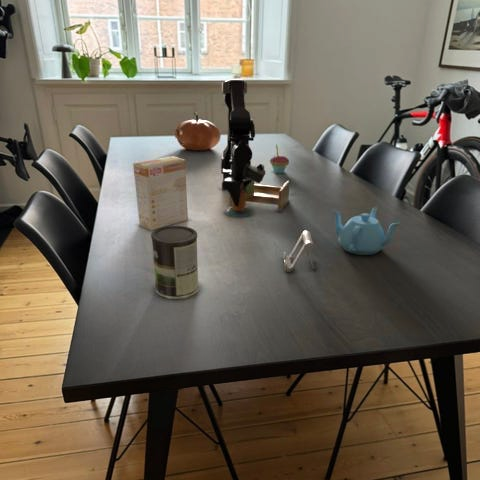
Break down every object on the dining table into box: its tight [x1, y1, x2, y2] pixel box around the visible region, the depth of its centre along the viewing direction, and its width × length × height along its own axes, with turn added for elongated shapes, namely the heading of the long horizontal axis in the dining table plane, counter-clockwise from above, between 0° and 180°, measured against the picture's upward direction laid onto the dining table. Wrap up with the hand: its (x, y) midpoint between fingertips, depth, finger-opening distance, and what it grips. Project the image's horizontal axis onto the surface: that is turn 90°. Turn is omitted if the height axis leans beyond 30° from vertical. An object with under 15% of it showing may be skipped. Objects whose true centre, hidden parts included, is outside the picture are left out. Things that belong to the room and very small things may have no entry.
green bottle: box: [246, 177, 256, 194], centre depth 166 cm, size 4×4×8 cm
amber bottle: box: [232, 185, 247, 211], centre depth 156 cm, size 4×4×8 cm
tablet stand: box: [282, 230, 315, 273], centre depth 121 cm, size 9×8×8 cm
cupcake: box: [269, 143, 290, 174], centre depth 206 cm, size 9×8×12 cm
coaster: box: [225, 206, 253, 218], centre depth 159 cm, size 9×9×1 cm
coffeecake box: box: [132, 155, 189, 231], centre depth 144 cm, size 15×7×20 cm, turn 134°
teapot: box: [331, 206, 402, 256], centre depth 132 cm, size 15×15×10 cm
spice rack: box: [229, 180, 291, 213], centre depth 167 cm, size 19×14×8 cm
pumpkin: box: [174, 111, 222, 152], centre depth 245 cm, size 25×25×19 cm
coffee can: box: [150, 225, 199, 300], centre depth 106 cm, size 10×10×14 cm
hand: (238, 204), depth 157 cm, fingers closed on amber bottle, 4 cm apart
